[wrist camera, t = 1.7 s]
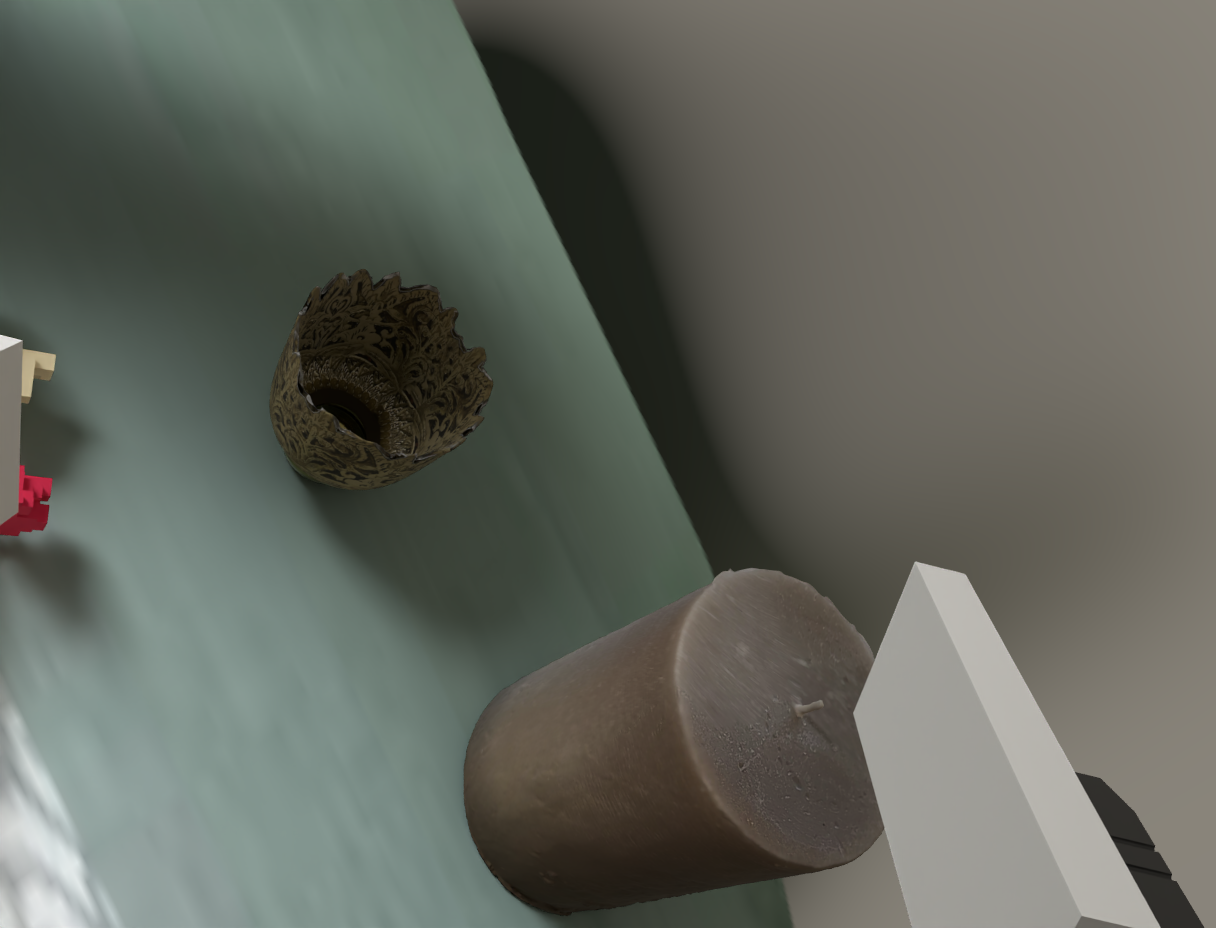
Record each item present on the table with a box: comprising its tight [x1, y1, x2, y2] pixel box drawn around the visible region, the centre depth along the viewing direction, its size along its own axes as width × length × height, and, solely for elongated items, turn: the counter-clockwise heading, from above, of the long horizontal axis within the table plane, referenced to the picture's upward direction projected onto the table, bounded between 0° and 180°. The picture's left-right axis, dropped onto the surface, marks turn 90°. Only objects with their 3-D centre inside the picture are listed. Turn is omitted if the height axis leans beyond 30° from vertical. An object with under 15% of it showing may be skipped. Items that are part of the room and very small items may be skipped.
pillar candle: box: [464, 568, 884, 916], centre depth 37 cm, size 10×10×15 cm
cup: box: [270, 269, 493, 490], centre depth 40 cm, size 8×7×8 cm
